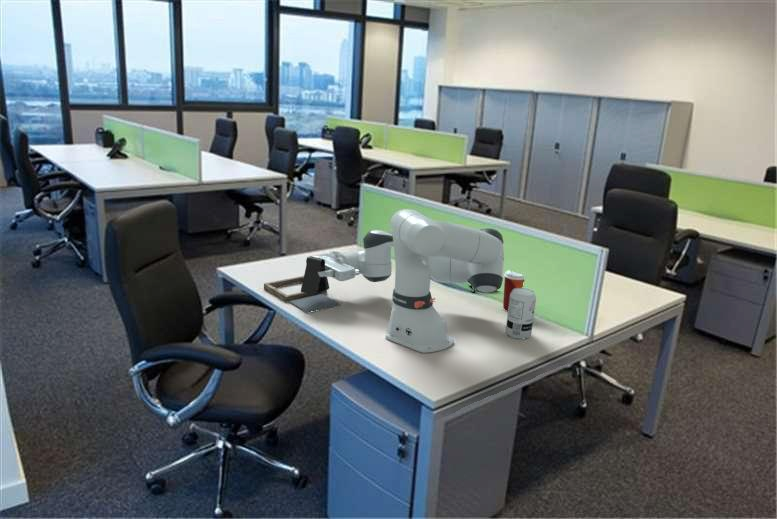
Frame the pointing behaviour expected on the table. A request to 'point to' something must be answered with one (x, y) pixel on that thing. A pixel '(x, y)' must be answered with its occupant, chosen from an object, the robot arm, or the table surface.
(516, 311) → the supplement can
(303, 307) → the charcoal mat
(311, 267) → the phone stand
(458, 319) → the table surface
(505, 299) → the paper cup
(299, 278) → the walnut frame
